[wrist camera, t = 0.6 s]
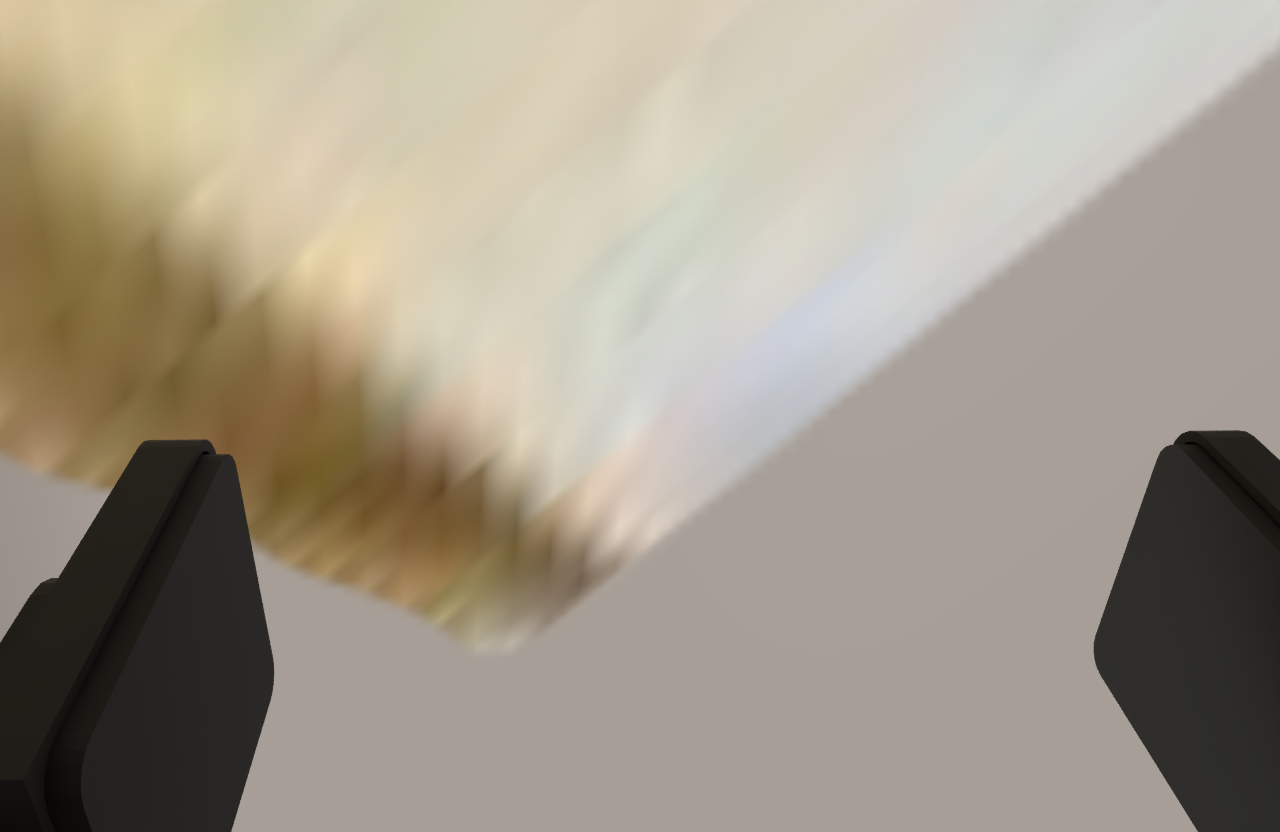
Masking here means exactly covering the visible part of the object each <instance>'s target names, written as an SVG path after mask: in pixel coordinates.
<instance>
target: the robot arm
mask: <svg viewBox="0 0 1280 832" xmlns="http://www.w3.org/2000/svg"><path fill="white" fill-rule="evenodd" d="M1094 657H1095V662H1096V666H1097V669H1098V671H1099V673H1100V675H1101V677H1102V678H1103V680H1104V681H1105V683H1106V685H1107V686H1108V688H1109V690H1110V691H1111V693H1112V694H1113V696H1114V698H1115V699H1116V701H1117V702H1118V704H1119V706H1120V707H1121V709H1122V710H1123V712H1124V714H1125V715H1126V717H1127V718H1128V720H1129V722H1130V723H1131V725H1132V726H1133V728H1134V730H1135V731H1136V733H1137V735H1138V736H1139V738H1140V739H1141V741H1142V743H1143V744H1144V746H1145V747H1146V749H1147V751H1148V752H1149V754H1150V755H1151V757H1152V759H1153V760H1154V762H1155V763H1156V765H1157V767H1158V768H1159V770H1160V771H1161V773H1162V774H1163V776H1164V778H1165V779H1166V781H1167V783H1168V784H1169V786H1170V787H1171V789H1172V790H1173V792H1174V794H1175V795H1176V797H1177V798H1178V800H1179V802H1180V803H1181V805H1182V807H1183V808H1184V810H1185V812H1186V813H1187V815H1188V816H1189V818H1190V820H1191V821H1192V823H1193V824H1194V826H1195V828H1196V829H1197V831H1198V832H1280V460H1279V459H1278V458H1277V457H1276V456H1275V455H1273V454H1272V453H1271V452H1270V451H1269V450H1268V449H1267V448H1266V447H1265V446H1264V445H1263V444H1262V443H1261V442H1260V441H1258V440H1257V439H1256V438H1255V437H1254V436H1252V435H1251V434H1249V433H1248V432H1245V431H1237V430H1235V431H1188V432H1185V433H1183V434H1181V435H1180V436H1179V437H1178V438H1177V439H1176V440H1175V442H1174V444H1173V445H1169V446H1167V447H1165V448H1164V449H1163V450H1162V451H1161V452H1160V454H1159V456H1158V458H1157V461H1156V464H1155V467H1154V469H1153V472H1152V475H1151V478H1150V481H1149V484H1148V487H1147V489H1146V493H1145V495H1144V498H1143V501H1142V504H1141V507H1140V510H1139V512H1138V515H1137V518H1136V521H1135V525H1134V527H1133V530H1132V533H1131V535H1130V538H1129V541H1128V544H1127V547H1126V550H1125V553H1124V556H1123V559H1122V561H1121V564H1120V567H1119V570H1118V573H1117V576H1116V578H1115V581H1114V584H1113V588H1112V590H1111V593H1110V596H1109V599H1108V601H1107V604H1106V607H1105V610H1104V613H1103V616H1102V619H1101V622H1100V625H1099V627H1098V630H1097V633H1096V636H1095V641H1094ZM273 684H274V663H273V655H272V650H271V646H270V640H269V635H268V629H267V624H266V619H265V614H264V609H263V604H262V598H261V593H260V588H259V583H258V577H257V572H256V567H255V562H254V556H253V551H252V546H251V541H250V535H249V530H248V525H247V520H246V515H245V509H244V504H243V499H242V494H241V488H240V483H239V478H238V473H237V468H236V464H235V461H234V459H233V457H232V456H231V455H229V454H216V452H215V449H214V447H213V445H212V444H211V442H209V441H208V440H148V441H144V442H143V443H142V444H141V445H140V446H139V447H138V449H137V450H136V452H135V454H134V455H133V457H132V459H131V460H130V462H129V464H128V465H127V467H126V468H125V470H124V472H123V473H122V475H121V477H120V478H119V480H118V482H117V483H116V485H115V486H114V488H113V490H112V491H111V493H110V495H109V496H108V498H107V499H106V501H105V503H104V504H103V506H102V508H101V509H100V511H99V513H98V514H97V516H96V518H95V519H94V521H93V522H92V524H91V526H90V527H89V529H88V530H87V532H86V534H85V535H84V537H83V539H82V540H81V542H80V544H79V545H78V547H77V548H76V550H75V552H74V554H73V555H72V557H71V558H70V560H69V562H68V563H67V565H66V566H65V568H64V570H63V571H62V573H61V575H60V576H59V578H51V579H49V580H46V581H45V582H42V583H40V585H39V586H38V587H37V588H36V589H35V591H34V592H33V593H32V594H31V595H30V597H29V598H28V600H27V601H26V603H25V605H24V606H23V608H22V610H21V611H20V613H19V614H18V616H17V617H16V619H15V620H14V622H13V624H12V625H11V627H10V628H9V630H8V631H7V633H6V635H5V636H4V638H3V639H2V641H1V642H0V832H231V830H232V827H233V824H234V820H235V817H236V814H237V810H238V806H239V804H240V800H241V797H242V794H243V790H244V787H245V783H246V780H247V777H248V774H249V770H250V766H251V764H252V760H253V757H254V754H255V750H256V747H257V744H258V740H259V737H260V734H261V730H262V727H263V723H264V720H265V717H266V714H267V710H268V707H269V703H270V700H271V696H272V691H273Z"/></svg>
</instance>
